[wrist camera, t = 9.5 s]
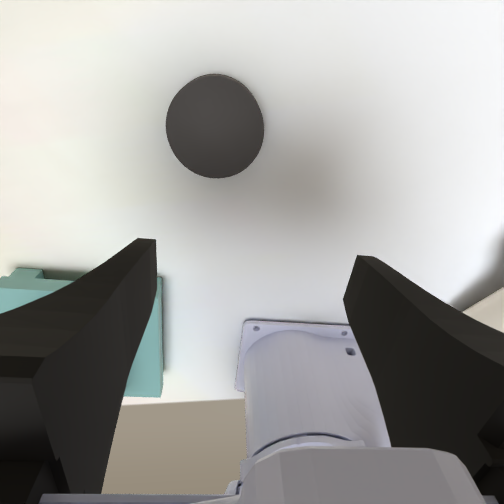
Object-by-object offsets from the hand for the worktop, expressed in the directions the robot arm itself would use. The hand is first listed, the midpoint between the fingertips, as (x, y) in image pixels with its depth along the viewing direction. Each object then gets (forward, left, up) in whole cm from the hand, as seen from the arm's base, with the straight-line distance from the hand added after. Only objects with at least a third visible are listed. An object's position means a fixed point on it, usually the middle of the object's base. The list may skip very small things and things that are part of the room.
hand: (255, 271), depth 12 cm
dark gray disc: (+2, -3, -10) cm, 11 cm away
